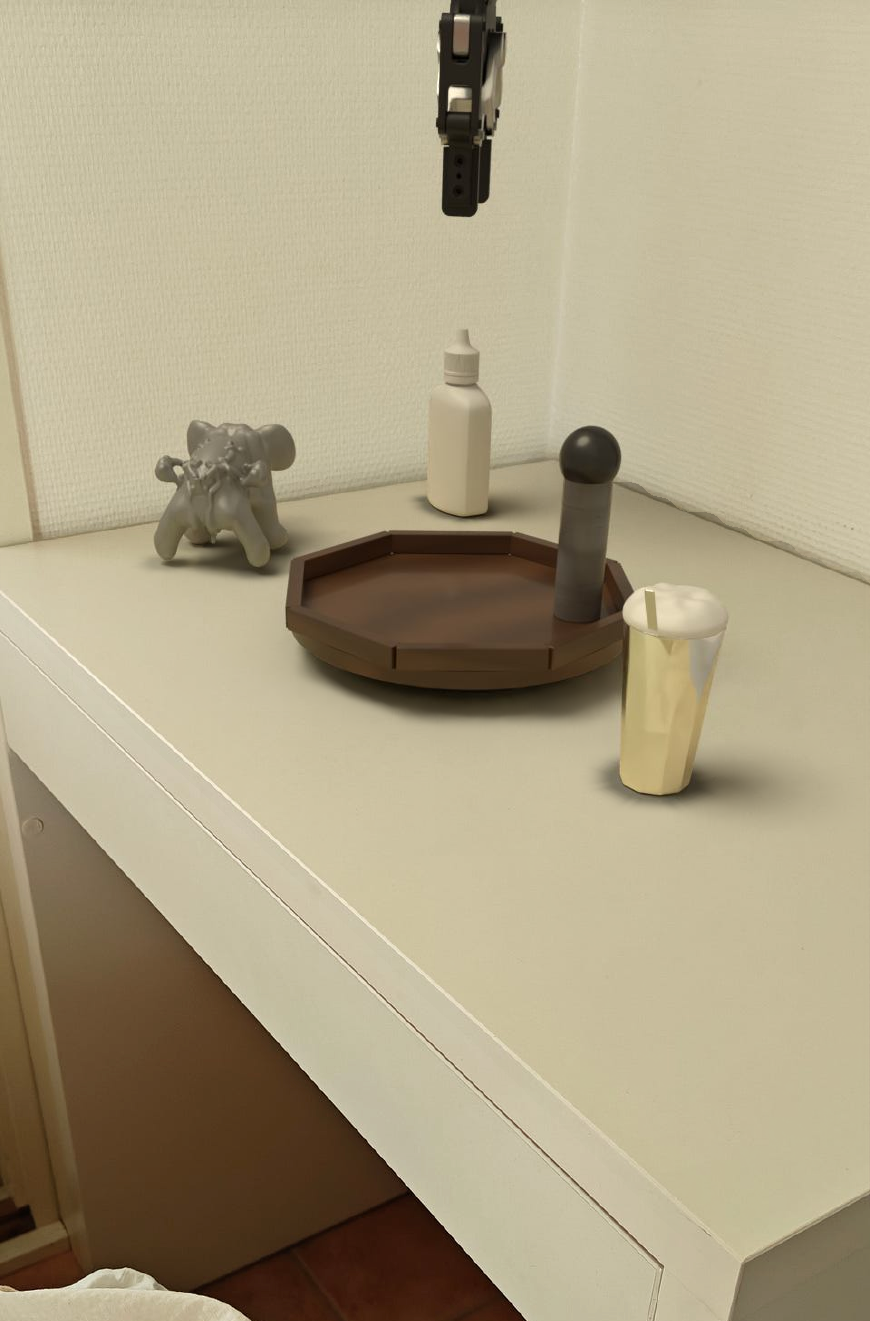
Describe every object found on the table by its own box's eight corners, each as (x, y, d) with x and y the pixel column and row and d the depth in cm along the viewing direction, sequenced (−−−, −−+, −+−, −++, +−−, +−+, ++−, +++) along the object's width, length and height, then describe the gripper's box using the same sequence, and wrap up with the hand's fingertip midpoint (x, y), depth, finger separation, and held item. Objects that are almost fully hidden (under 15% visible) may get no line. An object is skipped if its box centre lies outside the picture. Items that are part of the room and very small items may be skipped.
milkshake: (579, 791, 63) (600, 578, 57) (632, 750, 66) (656, 546, 61) (669, 819, 61) (699, 602, 55) (718, 775, 64) (751, 567, 59)
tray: (696, 623, 77) (724, 421, 71) (477, 723, 65) (488, 492, 59) (446, 545, 87) (451, 363, 81) (218, 620, 75) (204, 414, 69)
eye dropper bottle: (484, 496, 102) (492, 322, 95) (488, 519, 97) (496, 337, 90) (426, 495, 102) (430, 320, 95) (427, 517, 97) (431, 335, 90)
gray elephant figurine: (152, 577, 85) (141, 450, 81) (164, 519, 95) (154, 404, 91) (300, 575, 86) (296, 450, 82) (297, 519, 96) (293, 404, 92)
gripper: (535, -116, 73) (516, 225, 82) (548, -96, 85) (530, 200, 94) (397, -120, 74) (393, 219, 83) (429, -99, 85) (422, 195, 95)
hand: (466, 209), depth 88 cm, fingers open, 8 cm apart
